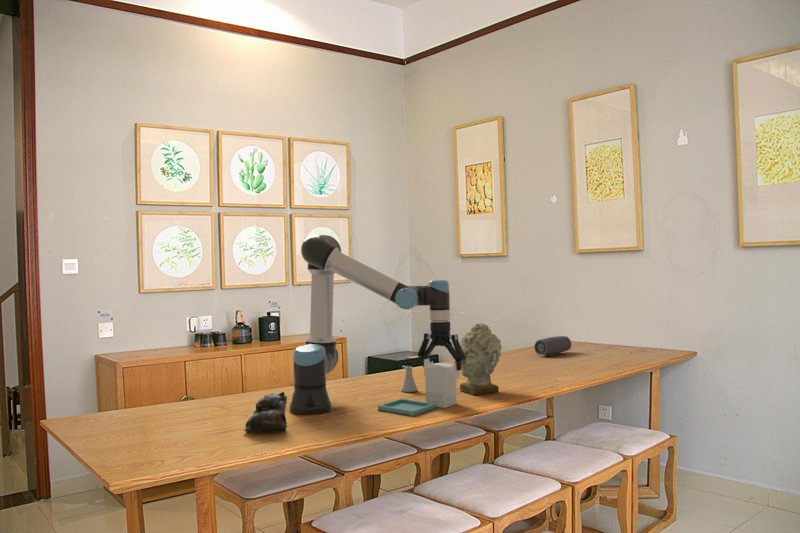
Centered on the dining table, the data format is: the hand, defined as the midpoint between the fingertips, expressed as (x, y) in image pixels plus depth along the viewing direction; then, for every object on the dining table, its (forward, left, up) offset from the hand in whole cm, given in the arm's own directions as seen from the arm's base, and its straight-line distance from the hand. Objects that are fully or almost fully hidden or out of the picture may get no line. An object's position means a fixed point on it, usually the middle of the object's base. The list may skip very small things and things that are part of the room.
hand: (441, 377), depth 244 cm
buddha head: (+28, 0, -11) cm, 30 cm away
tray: (-14, +6, -10) cm, 18 cm away
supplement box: (0, 0, -11) cm, 11 cm away
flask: (+13, +25, -11) cm, 30 cm away
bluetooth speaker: (+133, +16, -11) cm, 134 cm away
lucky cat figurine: (-62, +27, -11) cm, 69 cm away
